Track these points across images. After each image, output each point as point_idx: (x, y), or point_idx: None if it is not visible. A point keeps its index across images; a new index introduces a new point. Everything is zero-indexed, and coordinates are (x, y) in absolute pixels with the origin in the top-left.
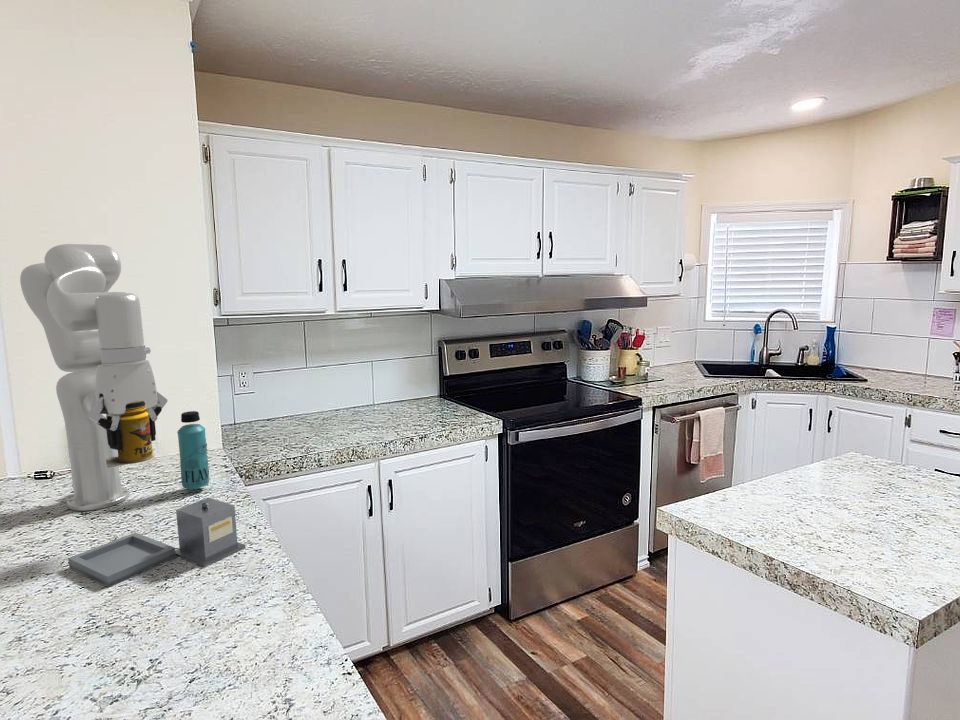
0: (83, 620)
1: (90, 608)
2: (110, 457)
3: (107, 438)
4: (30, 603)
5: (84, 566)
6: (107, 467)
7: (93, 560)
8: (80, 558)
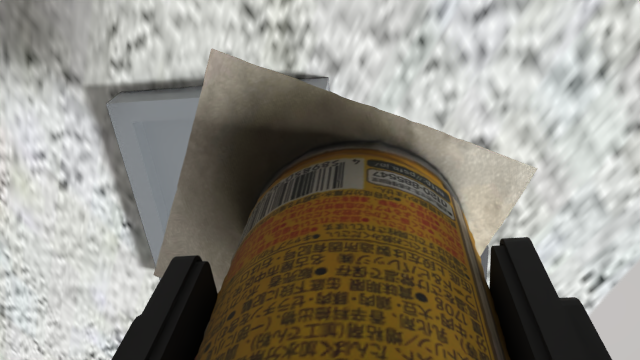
0: (102, 341)
1: (121, 315)
2: (243, 73)
3: (115, 356)
4: (21, 201)
5: (133, 192)
6: (157, 268)
7: (175, 134)
8: (134, 137)
